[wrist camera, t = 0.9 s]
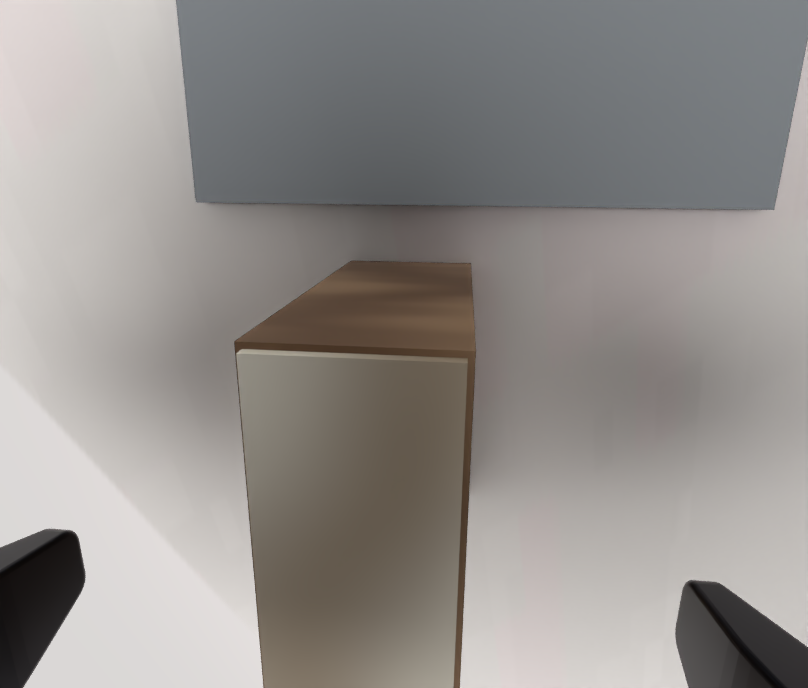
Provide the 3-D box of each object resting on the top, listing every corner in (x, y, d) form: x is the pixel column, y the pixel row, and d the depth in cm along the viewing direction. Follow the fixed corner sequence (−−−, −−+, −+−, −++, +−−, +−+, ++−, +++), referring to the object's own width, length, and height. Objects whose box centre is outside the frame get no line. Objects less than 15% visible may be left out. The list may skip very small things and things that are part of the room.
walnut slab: (470, 263, 14) (475, 356, 7) (460, 496, 16) (456, 770, 9) (351, 260, 15) (227, 345, 7) (356, 489, 17) (263, 747, 9)
